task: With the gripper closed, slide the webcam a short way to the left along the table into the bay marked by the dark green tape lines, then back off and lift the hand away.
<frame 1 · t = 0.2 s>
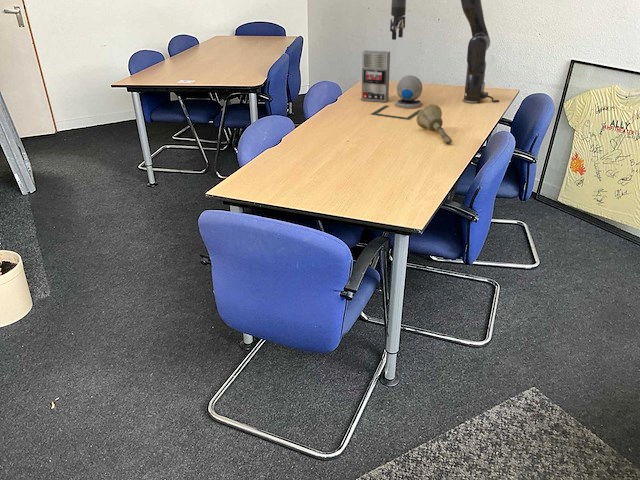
hand: (397, 38, 288), 29 cm above the table, tool pointing down, fingers open, 8 cm apart
handbell: (440, 136, 234), on the table
webcam: (408, 105, 278), on the table
tape bay: (397, 112, 268), on the table
cassette tape recorder: (374, 100, 288), on the table
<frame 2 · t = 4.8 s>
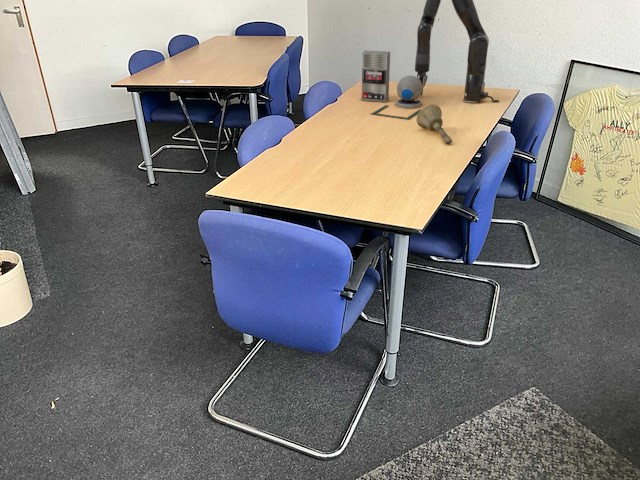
hand: (420, 95, 289), 2 cm above the table, tool pointing down, fingers closed
nothing on the table moved.
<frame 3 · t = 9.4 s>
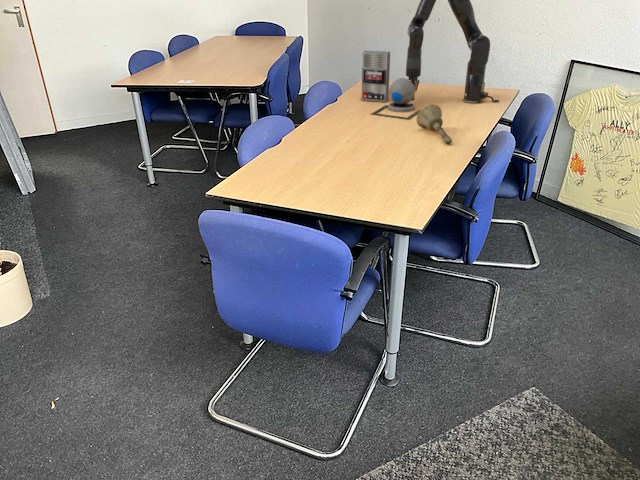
hand: (411, 100, 280), 2 cm above the table, tool pointing down, fingers closed
webcam: (401, 108, 273), on the table, touching hand
everything else where it was.
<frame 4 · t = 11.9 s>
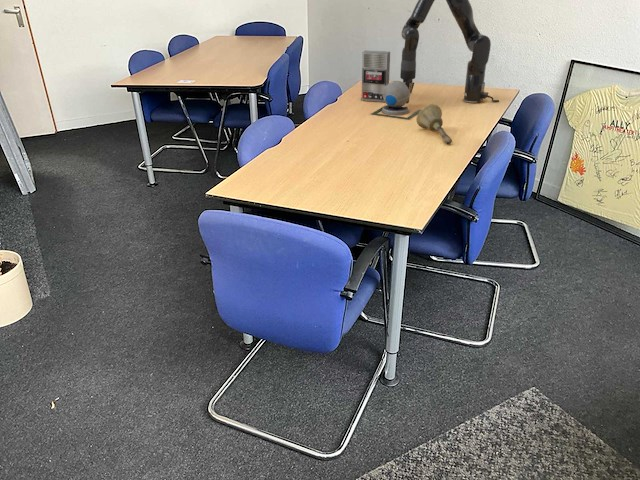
hand: (406, 103, 276), 2 cm above the table, tool pointing down, fingers closed
webcam: (395, 111, 268), on the table, touching hand
everything else where it was.
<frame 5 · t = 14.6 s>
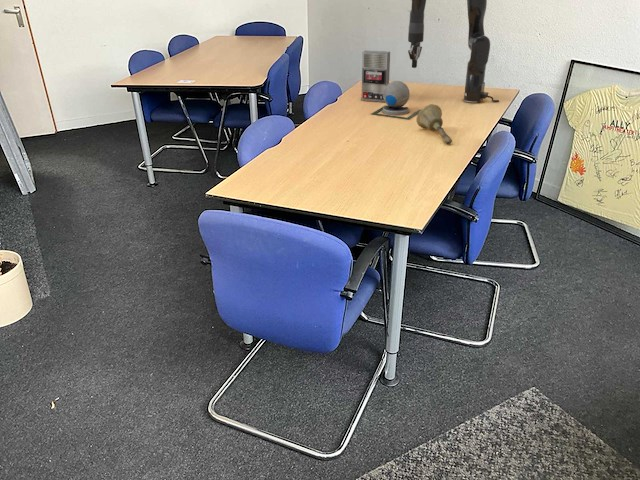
hand: (414, 67, 272), 18 cm above the table, tool pointing down, fingers closed
webcam: (395, 112, 268), on the table
everything else where it was.
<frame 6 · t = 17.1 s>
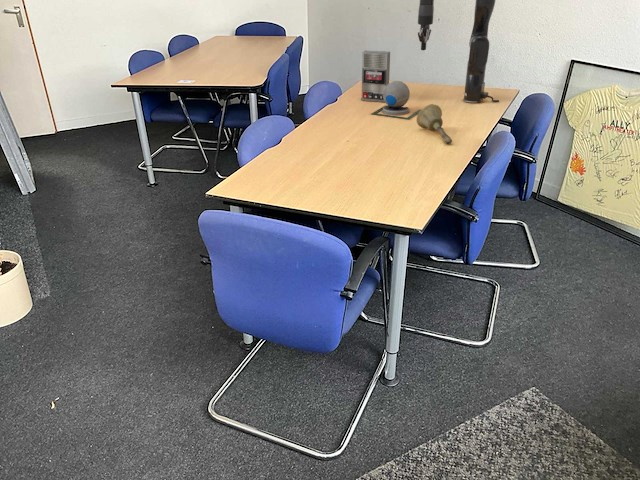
hand: (423, 49, 278), 25 cm above the table, tool pointing down, fingers closed
nothing on the table moved.
at the end: webcam inside the target area (1.2 cm from its centre), on the table; webcam moved 13.9 cm from its start; webcam tilted 0° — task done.
